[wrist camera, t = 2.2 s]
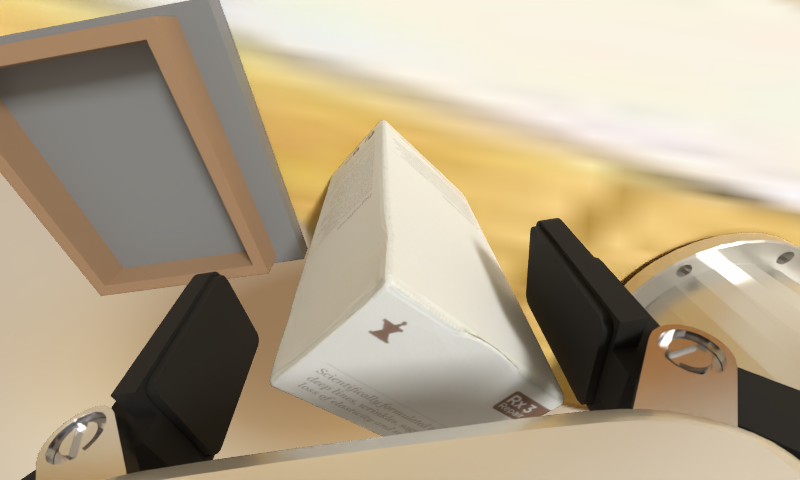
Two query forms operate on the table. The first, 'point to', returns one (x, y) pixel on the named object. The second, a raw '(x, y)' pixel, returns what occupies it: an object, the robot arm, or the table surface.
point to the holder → (144, 148)
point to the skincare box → (407, 306)
